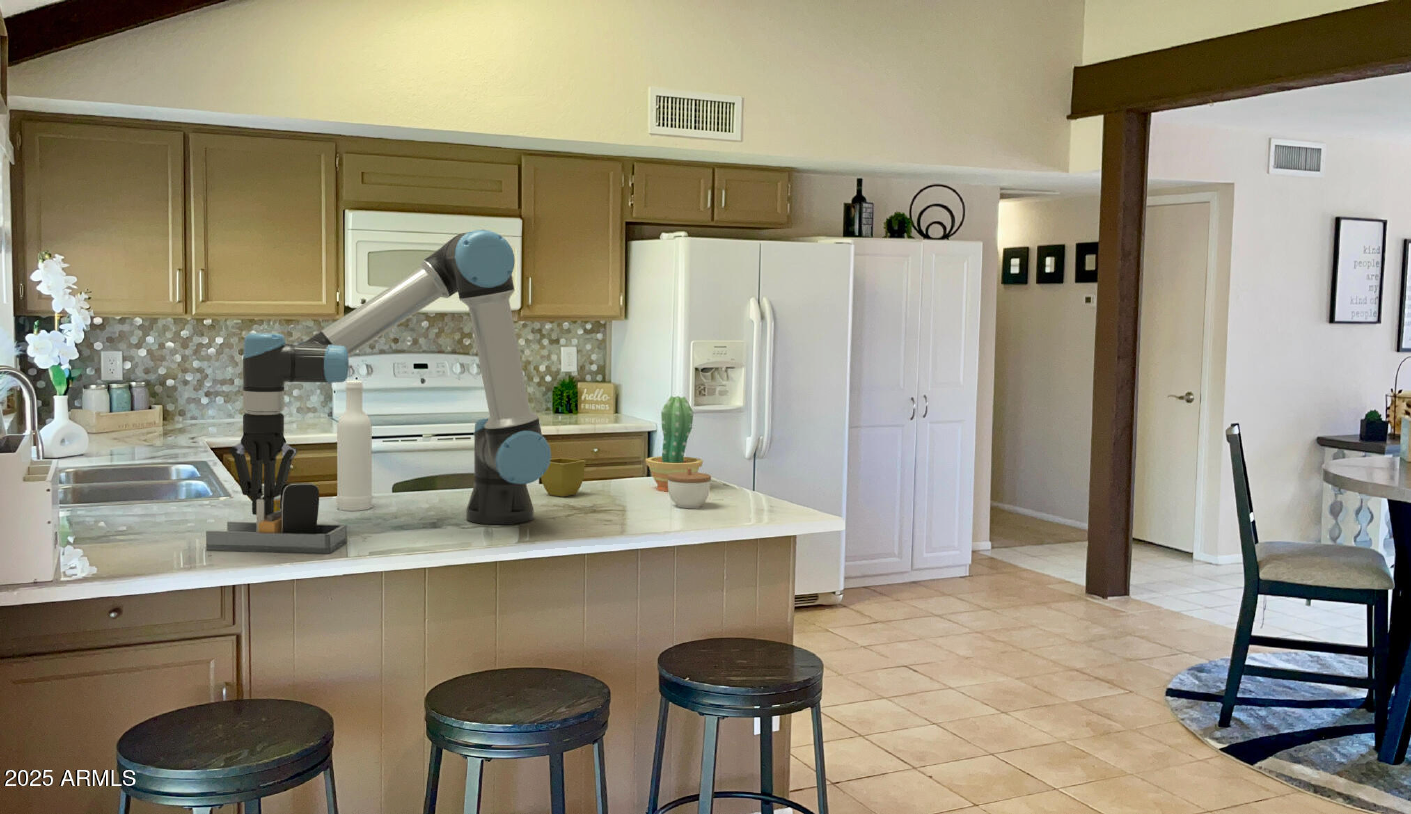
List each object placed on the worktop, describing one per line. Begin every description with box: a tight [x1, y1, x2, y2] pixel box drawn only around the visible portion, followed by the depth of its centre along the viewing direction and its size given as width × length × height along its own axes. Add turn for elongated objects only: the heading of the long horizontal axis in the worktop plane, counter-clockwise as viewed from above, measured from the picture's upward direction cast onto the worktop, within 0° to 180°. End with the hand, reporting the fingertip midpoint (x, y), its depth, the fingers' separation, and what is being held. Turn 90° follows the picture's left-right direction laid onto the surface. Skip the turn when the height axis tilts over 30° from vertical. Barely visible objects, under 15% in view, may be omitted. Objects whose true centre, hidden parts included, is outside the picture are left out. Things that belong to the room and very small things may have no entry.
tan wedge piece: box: [259, 511, 281, 533], centre depth 226 cm, size 3×8×5 cm, turn 179°
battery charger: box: [280, 482, 320, 534], centre depth 225 cm, size 7×4×11 cm, turn 126°
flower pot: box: [540, 457, 586, 498], centre depth 293 cm, size 9×9×9 cm
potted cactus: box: [645, 395, 704, 493], centre depth 306 cm, size 15×15×25 cm
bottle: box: [336, 379, 373, 512], centre depth 268 cm, size 8×8×30 cm
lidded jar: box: [667, 468, 712, 509], centre depth 282 cm, size 11×11×9 cm
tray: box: [205, 521, 348, 555], centre depth 226 cm, size 24×10×4 cm, turn 89°
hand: (262, 531), depth 226 cm, fingers closed
